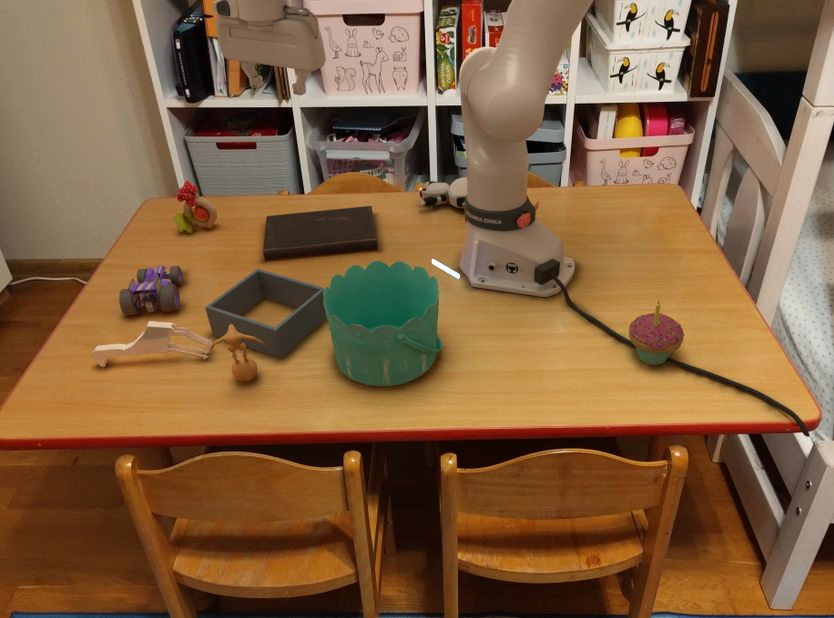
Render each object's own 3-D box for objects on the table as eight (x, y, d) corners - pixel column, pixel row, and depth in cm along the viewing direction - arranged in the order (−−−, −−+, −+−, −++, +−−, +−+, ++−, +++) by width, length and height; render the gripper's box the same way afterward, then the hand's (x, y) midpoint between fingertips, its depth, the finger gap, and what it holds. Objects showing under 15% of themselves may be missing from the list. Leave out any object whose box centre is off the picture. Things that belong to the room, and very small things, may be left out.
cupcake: (669, 378, 112) (682, 316, 105) (617, 361, 116) (626, 300, 109) (685, 349, 118) (699, 287, 111) (635, 334, 122) (645, 273, 114)
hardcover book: (268, 225, 158) (266, 215, 156) (372, 214, 160) (371, 205, 158) (264, 262, 145) (262, 252, 144) (378, 250, 147) (377, 240, 146)
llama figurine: (202, 381, 126) (93, 358, 121) (214, 331, 119) (99, 304, 114) (200, 388, 124) (90, 365, 119) (212, 338, 118) (96, 311, 113)
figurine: (272, 367, 118) (259, 307, 111) (272, 390, 114) (258, 329, 106) (221, 374, 117) (204, 314, 110) (219, 398, 113) (201, 337, 105)
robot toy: (417, 217, 160) (484, 215, 157) (414, 199, 157) (482, 196, 154) (425, 193, 169) (488, 190, 167) (422, 175, 166) (487, 172, 164)
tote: (330, 316, 129) (325, 288, 126) (281, 359, 120) (275, 330, 116) (263, 295, 136) (257, 268, 132) (212, 335, 126) (204, 307, 122)
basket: (335, 324, 127) (326, 262, 119) (438, 318, 128) (435, 255, 120) (329, 396, 112) (318, 329, 104) (446, 388, 113) (444, 321, 105)
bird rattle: (216, 229, 162) (176, 215, 160) (226, 187, 155) (184, 172, 153) (208, 243, 157) (167, 228, 155) (217, 200, 150) (174, 185, 148)
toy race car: (190, 272, 143) (182, 244, 139) (177, 315, 131) (168, 285, 127) (141, 277, 142) (131, 248, 138) (124, 320, 131) (113, 290, 127)
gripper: (327, 4, 114) (338, 92, 122) (229, -5, 122) (245, 78, 130) (303, 13, 109) (316, 104, 118) (203, 3, 118) (222, 88, 126)
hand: (278, 90), depth 124 cm, fingers open, 8 cm apart
